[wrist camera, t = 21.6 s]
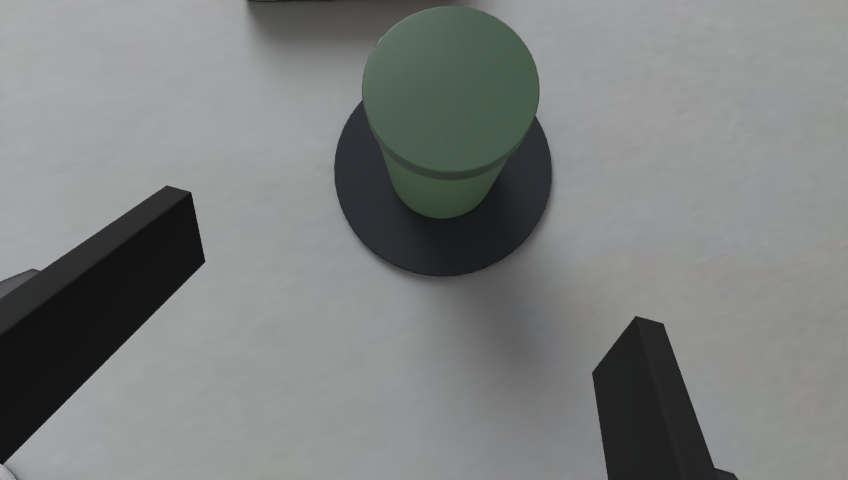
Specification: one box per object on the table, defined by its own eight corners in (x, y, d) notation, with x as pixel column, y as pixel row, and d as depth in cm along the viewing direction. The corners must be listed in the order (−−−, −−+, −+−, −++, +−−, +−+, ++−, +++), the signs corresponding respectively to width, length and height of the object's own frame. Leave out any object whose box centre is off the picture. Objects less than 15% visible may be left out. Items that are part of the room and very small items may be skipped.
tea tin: (495, 115, 28) (537, 4, 17) (497, 221, 27) (542, 173, 16) (388, 115, 28) (363, 4, 18) (386, 220, 27) (358, 172, 17)
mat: (546, 69, 29) (548, 65, 29) (553, 277, 27) (555, 276, 27) (339, 69, 30) (337, 65, 29) (331, 275, 28) (330, 275, 27)
